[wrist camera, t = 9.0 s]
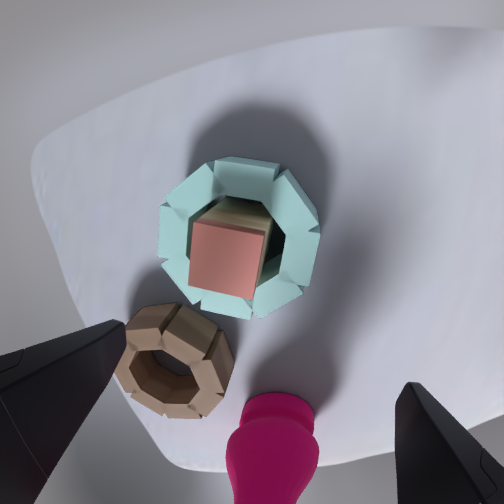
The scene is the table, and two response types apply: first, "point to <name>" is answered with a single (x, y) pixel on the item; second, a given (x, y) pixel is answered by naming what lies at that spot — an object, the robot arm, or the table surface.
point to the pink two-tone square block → (230, 248)
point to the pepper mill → (272, 450)
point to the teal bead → (279, 206)
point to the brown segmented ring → (184, 349)
